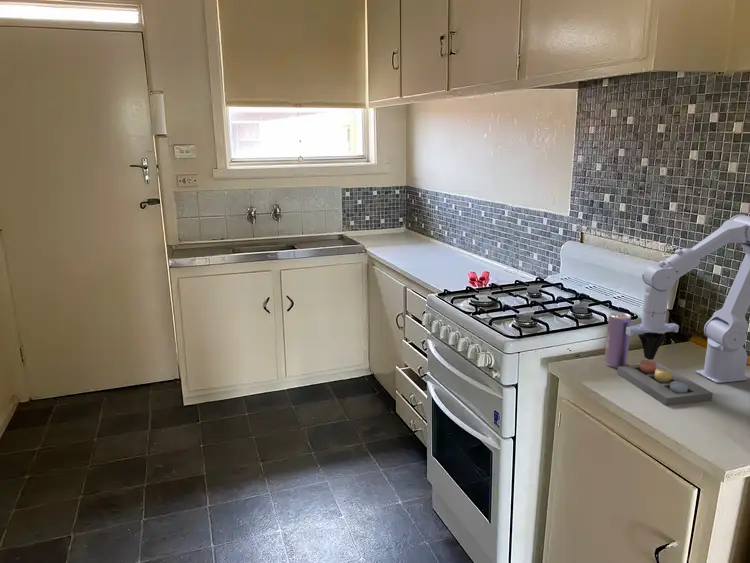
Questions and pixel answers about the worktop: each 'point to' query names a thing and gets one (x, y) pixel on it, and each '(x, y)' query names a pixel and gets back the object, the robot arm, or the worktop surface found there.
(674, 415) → the worktop surface
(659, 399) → the panel
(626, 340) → the beverage can
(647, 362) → the brick button
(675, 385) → the slate button
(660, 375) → the ochre button
